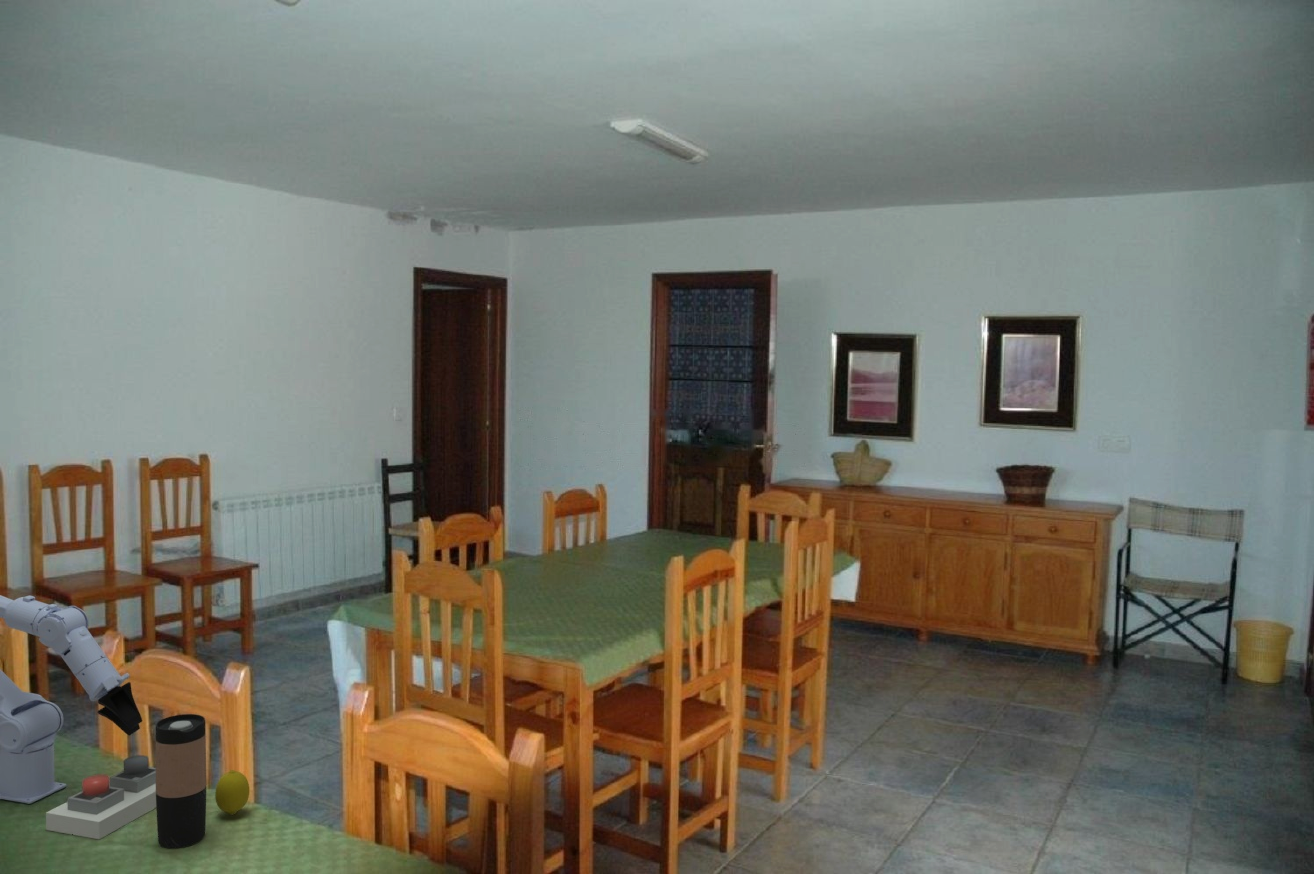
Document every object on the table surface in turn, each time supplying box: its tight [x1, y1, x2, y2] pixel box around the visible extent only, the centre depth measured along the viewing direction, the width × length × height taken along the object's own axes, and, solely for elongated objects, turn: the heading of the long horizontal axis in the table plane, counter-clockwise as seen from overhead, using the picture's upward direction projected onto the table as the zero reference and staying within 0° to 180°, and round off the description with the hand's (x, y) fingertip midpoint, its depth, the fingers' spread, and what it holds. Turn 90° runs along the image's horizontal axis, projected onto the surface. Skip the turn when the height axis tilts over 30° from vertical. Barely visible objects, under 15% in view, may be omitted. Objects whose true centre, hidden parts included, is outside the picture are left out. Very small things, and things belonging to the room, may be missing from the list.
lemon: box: [214, 769, 250, 815], centre depth 175 cm, size 6×6×8 cm
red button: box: [81, 774, 110, 796], centre depth 171 cm, size 4×4×2 cm
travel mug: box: [155, 713, 208, 849], centre depth 165 cm, size 8×8×20 cm
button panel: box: [45, 766, 156, 840], centre depth 175 cm, size 11×19×5 cm, turn 165°
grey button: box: [123, 754, 150, 775], centre depth 179 cm, size 4×4×2 cm
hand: (135, 728), depth 177 cm, fingers open, 7 cm apart
